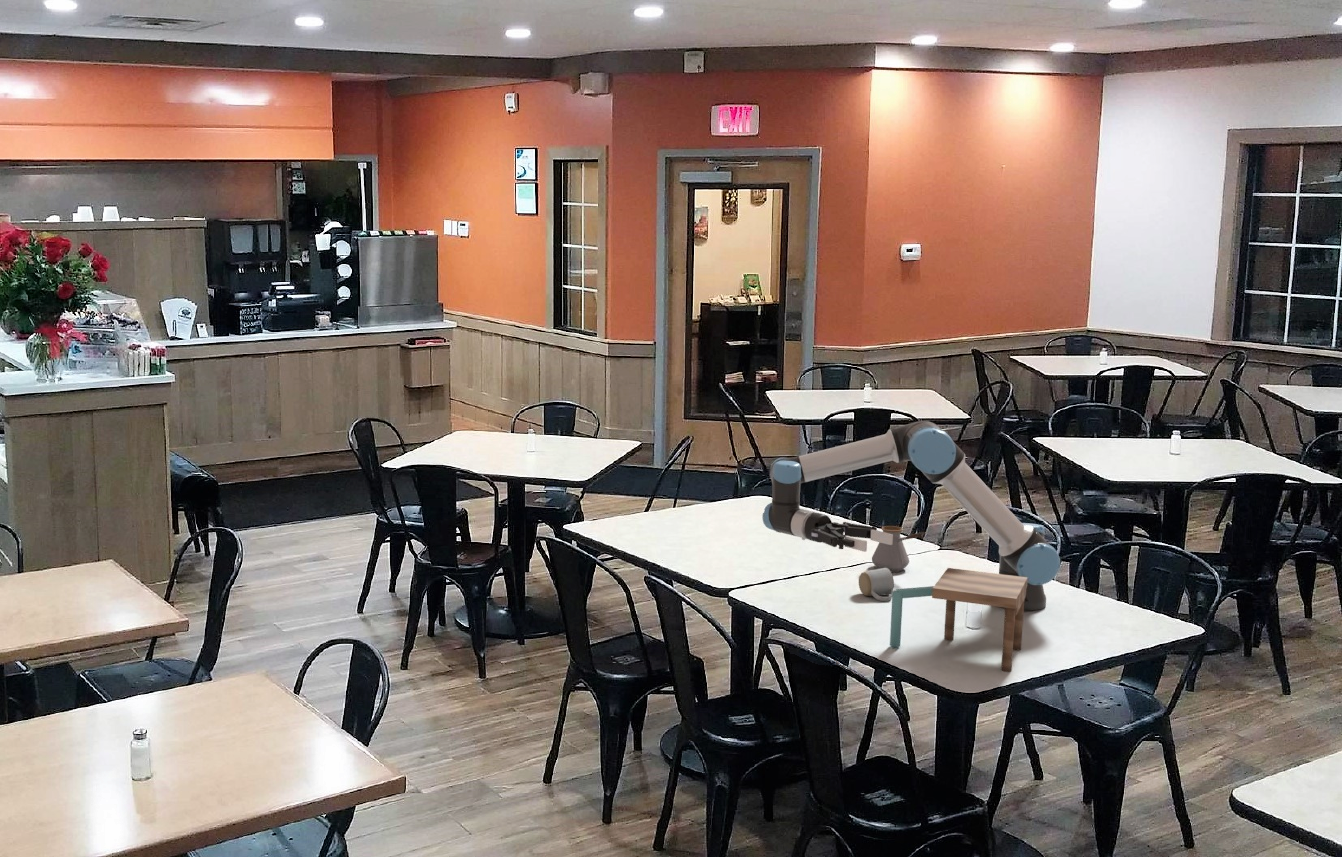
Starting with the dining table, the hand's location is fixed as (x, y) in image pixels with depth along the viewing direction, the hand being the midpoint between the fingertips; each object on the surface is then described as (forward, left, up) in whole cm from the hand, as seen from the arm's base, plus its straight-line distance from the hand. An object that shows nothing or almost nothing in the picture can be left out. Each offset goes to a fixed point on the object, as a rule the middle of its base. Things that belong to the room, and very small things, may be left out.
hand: (878, 542), depth 328 cm
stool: (+20, +16, -26) cm, 37 cm away
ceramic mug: (-30, +28, -26) cm, 48 cm away
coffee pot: (-45, +50, -26) cm, 72 cm away
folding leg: (+8, +8, -25) cm, 28 cm away
